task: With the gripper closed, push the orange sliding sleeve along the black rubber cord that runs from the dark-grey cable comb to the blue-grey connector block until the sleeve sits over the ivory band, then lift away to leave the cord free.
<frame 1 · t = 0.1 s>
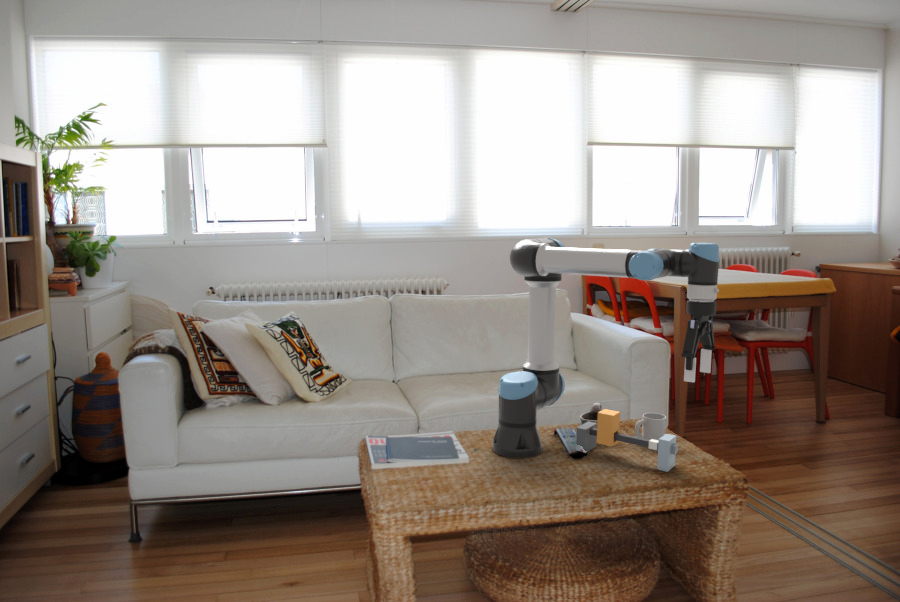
hand: (697, 376, 182), 28 cm above the table, fingers open, 13 cm apart
mug: (594, 436, 218), on the table
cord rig: (624, 457, 198), on the table
cup: (648, 444, 211), on the table
orange sliding sleeve: (608, 427, 200), point 8 cm above the table, slide at 0.0 cm
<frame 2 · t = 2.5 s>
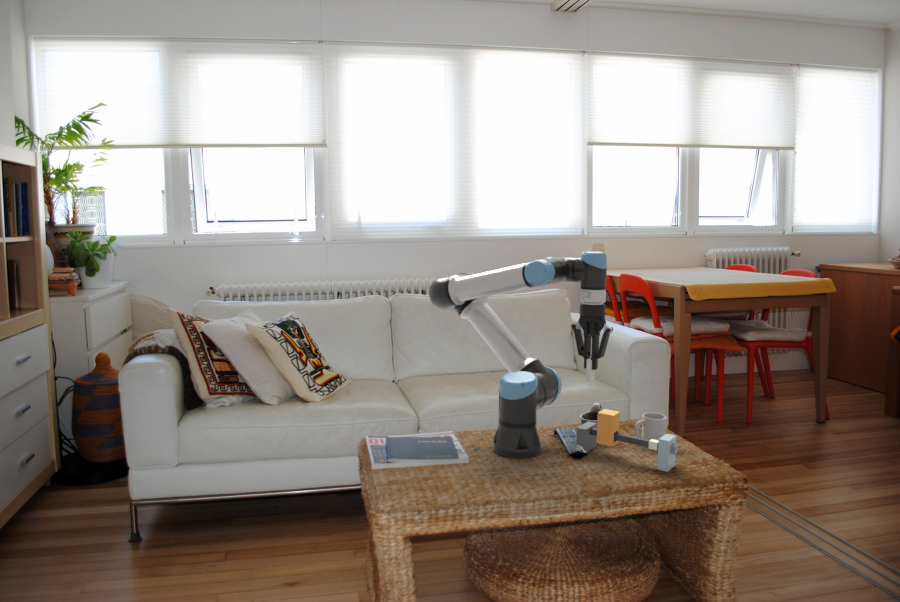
hand: (590, 379, 202), 22 cm above the table, fingers closed
nothing on the table moved.
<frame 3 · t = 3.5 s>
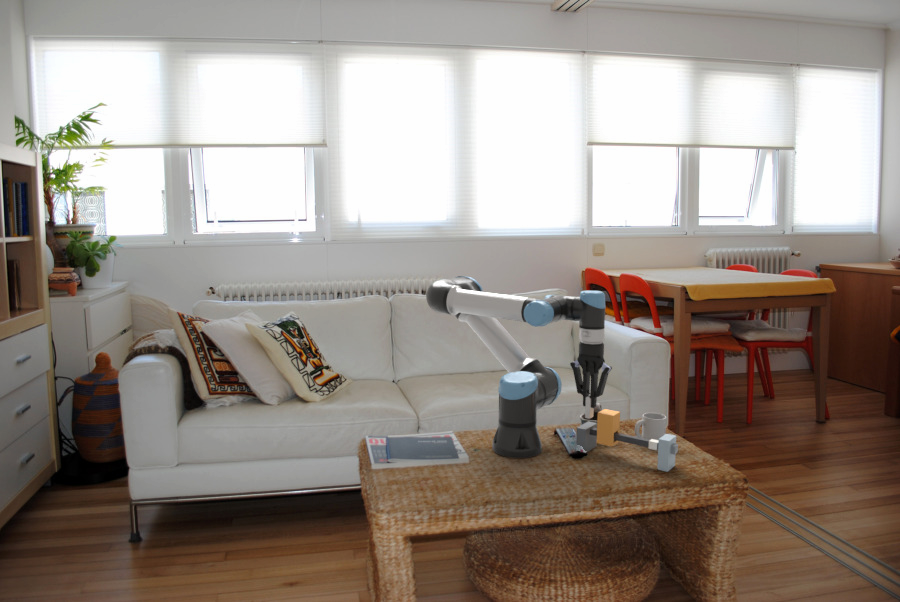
hand: (589, 417, 204), 10 cm above the table, fingers closed
nothing on the table moved.
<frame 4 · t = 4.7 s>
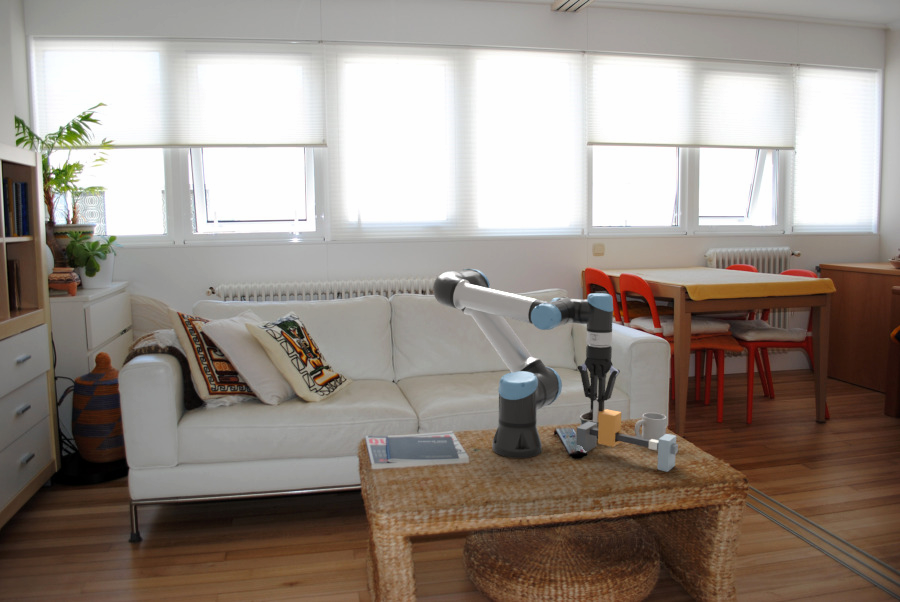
hand: (597, 420, 202), 10 cm above the table, fingers closed
orange sliding sleeve: (609, 427, 200), point 8 cm above the table, slide at 0.4 cm, touching gripper
everything else where it was.
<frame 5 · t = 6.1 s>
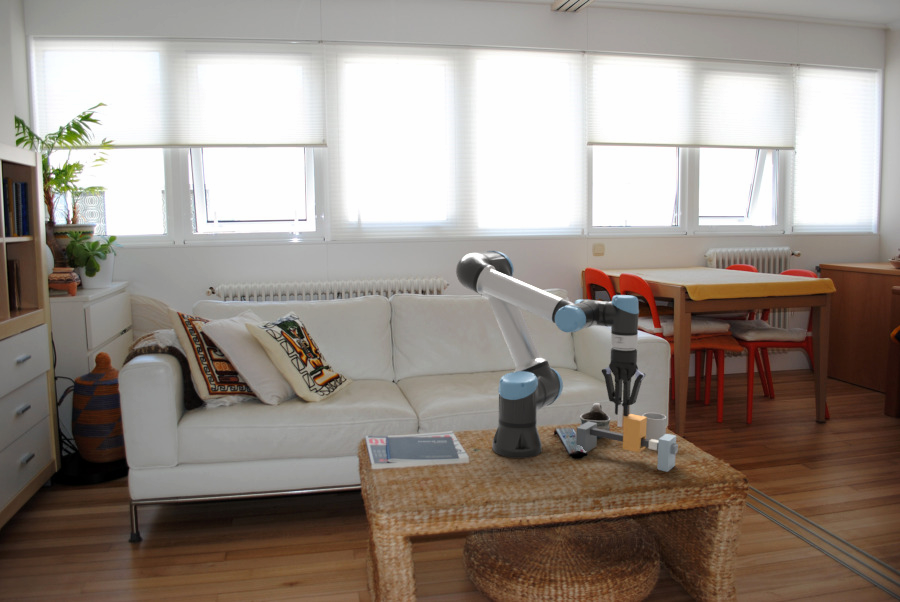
hand: (621, 425, 198), 10 cm above the table, fingers closed
orange sliding sleeve: (634, 433, 195), point 8 cm above the table, slide at 8.3 cm, touching gripper
everything else where it was.
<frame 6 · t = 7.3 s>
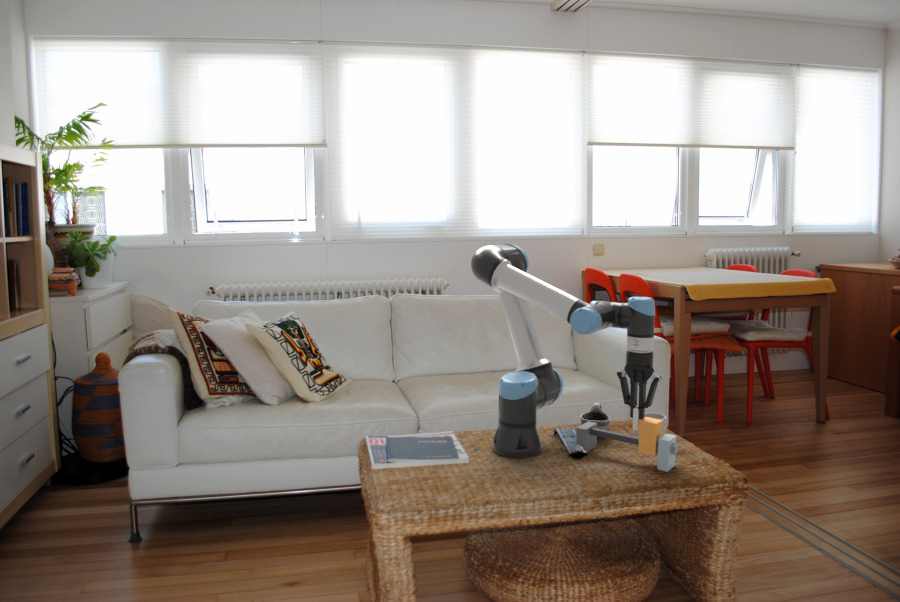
hand: (636, 429, 195), 10 cm above the table, fingers closed
orange sliding sleeve: (650, 436, 192), point 8 cm above the table, slide at 13.0 cm, touching gripper
everything else where it was.
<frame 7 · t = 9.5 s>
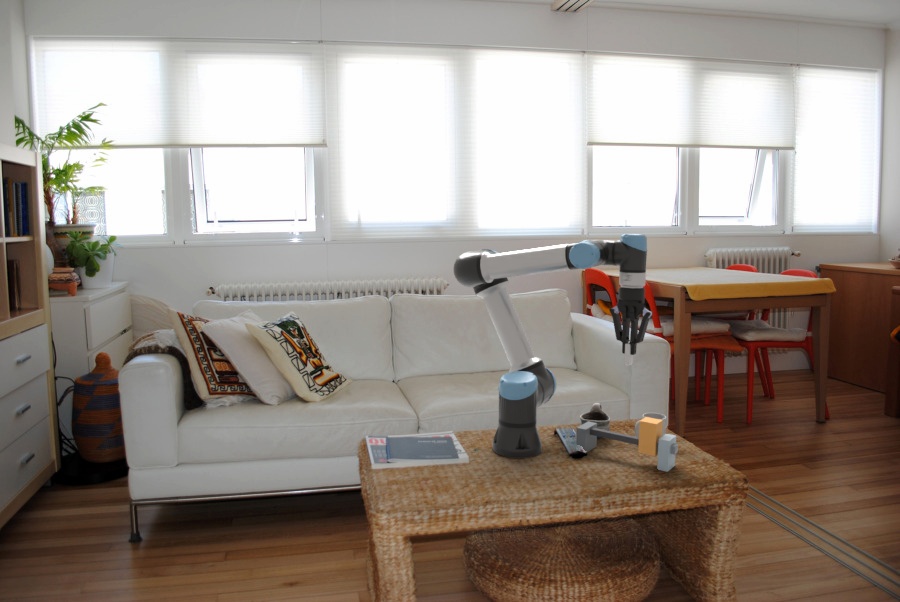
hand: (628, 364, 198), 27 cm above the table, fingers closed
orange sliding sleeve: (650, 436, 192), point 8 cm above the table, slide at 13.0 cm
everything else where it was.
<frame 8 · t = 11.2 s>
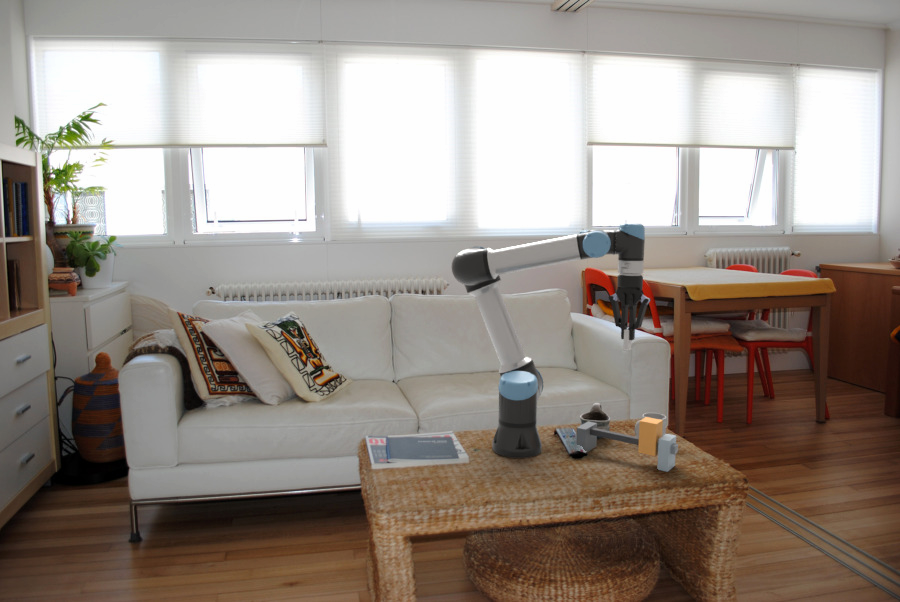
hand: (627, 349, 206), 30 cm above the table, fingers closed
nothing on the table moved.
at the end: orange sliding sleeve slide at 13.0 cm; the gripper is holding nothing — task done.
